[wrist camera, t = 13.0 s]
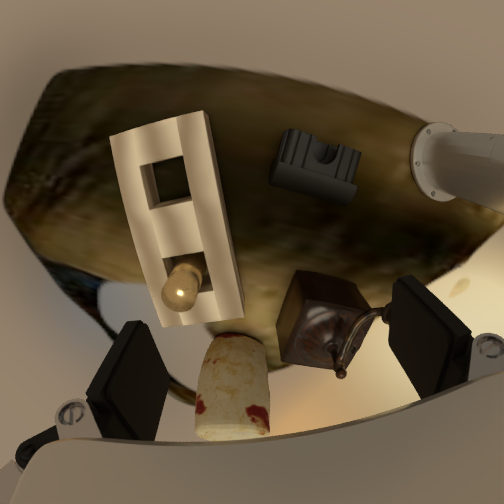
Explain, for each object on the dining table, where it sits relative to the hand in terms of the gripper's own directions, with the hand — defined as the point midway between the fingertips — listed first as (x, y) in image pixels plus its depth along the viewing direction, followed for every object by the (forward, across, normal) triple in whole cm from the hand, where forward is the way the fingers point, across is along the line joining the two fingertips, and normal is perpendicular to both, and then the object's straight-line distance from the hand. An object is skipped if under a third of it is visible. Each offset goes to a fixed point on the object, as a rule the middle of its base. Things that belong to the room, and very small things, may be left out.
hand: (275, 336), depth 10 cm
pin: (+30, +10, +8) cm, 33 cm away
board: (+30, +10, +2) cm, 32 cm away
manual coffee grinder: (+31, -8, +16) cm, 35 cm away
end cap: (+31, -8, -3) cm, 32 cm away
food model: (+31, +7, +23) cm, 39 cm away
